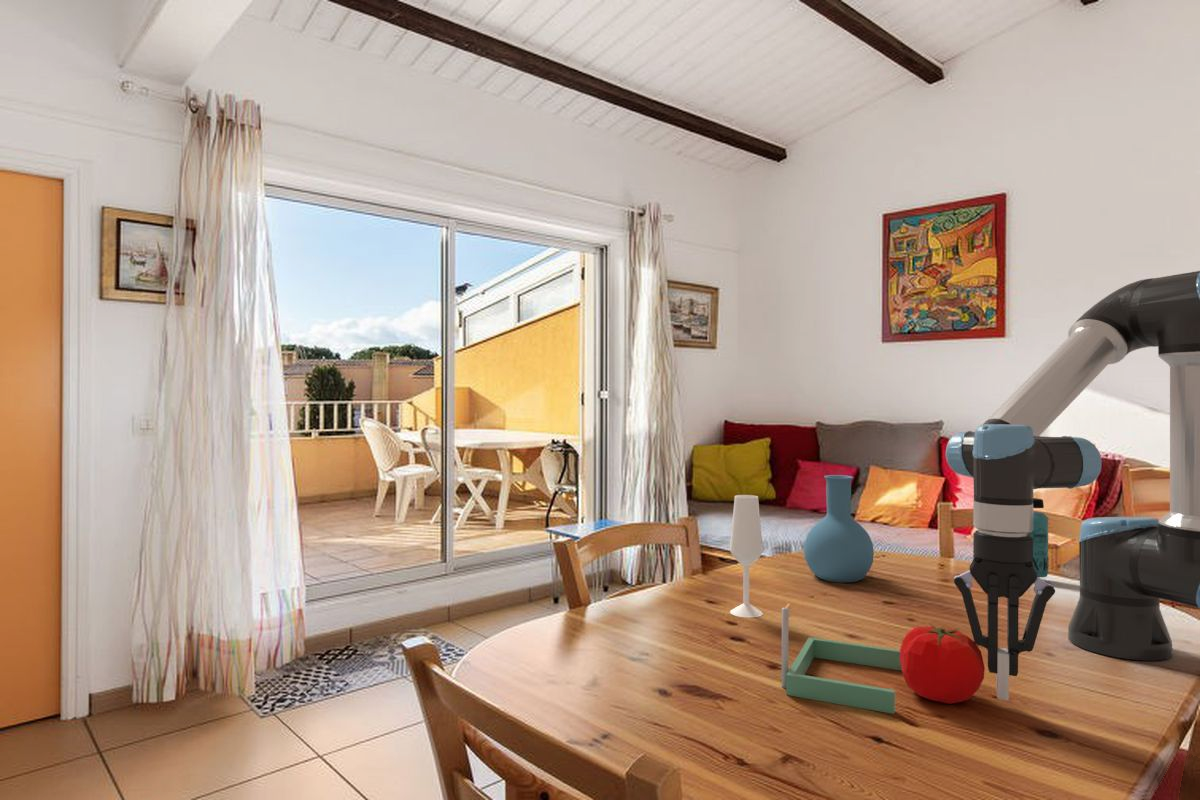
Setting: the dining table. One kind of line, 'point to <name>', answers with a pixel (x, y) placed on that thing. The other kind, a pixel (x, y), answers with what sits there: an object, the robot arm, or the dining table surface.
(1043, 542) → the beverage bottle
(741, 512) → the champagne flute
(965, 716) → the dining table surface
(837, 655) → the green u-shaped frame
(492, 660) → the dining table surface
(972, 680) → the tomato
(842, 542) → the vase
